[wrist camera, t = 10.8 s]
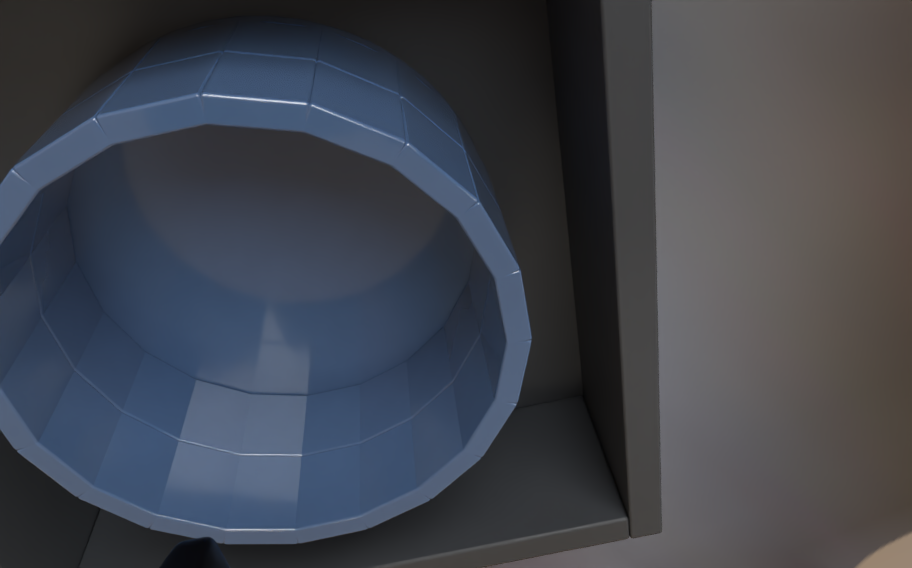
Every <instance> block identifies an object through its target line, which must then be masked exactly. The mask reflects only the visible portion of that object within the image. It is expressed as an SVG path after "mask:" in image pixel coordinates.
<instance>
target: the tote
mask: <svg viewBox="0 0 912 568" xmlns="http://www.w3.org/2000/svg"><path fill="white" fill-rule="evenodd" d="M235 16H278V17H286V18H295V19H303V20H307V21H311V22H315V23H319V24H323V25H327V26H331V27H335V28H338V29H340V30H343V31H346V32H348V33H351V34H353V35H356V36H358V37H361V38H363V39H366V40H368V41H370V42H371V43H373V44H375V45H377V46H379V47H381V48H382V49H384V50H386V51H388V52H390V53H391V54H393V55H395V56H396V57H398V58H399V59H400V60H402V61H403V62H404V63H406V64H407V65H409V66H410V67H411V68H413V69H414V70H415V71H417V72H418V73H419V74H420V75H421V76H422V77H424V78H425V79H426V80H427V81H428V82H429V83H430V84H431V85H432V86H433V87H434V88H435V89H436V90H437V91H438V92H439V93H440V94H441V95H442V96H443V97H444V99H445V100H446V101H447V102H448V104H449V105H450V106H451V108H452V109H453V110H454V111H455V113H456V114H457V115H458V116H459V118H460V120H461V121H462V123H463V125H464V126H465V128H466V130H467V131H468V133H469V135H470V137H471V138H472V140H473V142H474V145H475V147H476V149H477V152H478V154H479V156H480V158H481V159H482V161H483V163H484V164H485V166H486V169H487V171H488V174H489V177H490V180H491V183H492V186H493V189H494V192H495V195H496V198H497V201H498V204H499V207H500V210H501V213H502V216H503V219H504V222H505V225H506V228H507V230H508V233H509V236H510V239H511V242H512V245H513V248H514V251H515V254H516V257H517V260H518V263H519V266H520V269H521V272H522V278H523V284H524V290H525V297H526V303H527V309H528V315H529V321H530V327H531V333H532V339H531V340H532V343H531V347H530V352H529V356H528V361H527V365H526V369H525V374H524V378H523V383H522V387H521V392H520V396H519V400H518V402H517V405H516V407H515V409H514V410H513V412H512V413H511V415H510V416H509V418H508V419H507V421H506V422H505V424H504V426H503V427H502V429H501V430H500V432H499V433H498V435H497V436H496V438H495V439H494V441H493V442H492V444H491V446H490V447H489V449H488V450H487V452H486V453H485V455H484V456H483V457H481V459H480V460H479V461H478V462H477V463H476V464H475V465H473V466H472V467H471V468H470V469H469V470H467V471H466V472H465V473H464V474H462V475H461V476H460V477H459V478H458V479H456V480H455V481H454V482H453V483H452V484H450V485H449V486H448V487H447V488H445V489H444V490H443V491H442V492H441V493H439V494H438V495H437V496H436V497H435V498H433V499H430V501H429V502H426V503H424V504H422V505H420V506H418V507H416V508H413V509H411V510H409V511H407V512H405V513H403V514H400V515H398V516H396V517H394V518H392V519H390V520H387V521H385V522H383V523H381V524H379V525H377V526H374V527H372V528H368V529H367V530H363V531H358V532H353V533H349V534H344V535H339V536H335V537H330V538H325V539H320V540H316V541H311V542H306V543H301V544H299V543H297V544H224V543H223V544H219V543H217V544H218V546H219V548H220V550H221V552H222V554H223V555H224V557H225V559H226V561H227V563H228V565H229V566H230V568H482V567H487V566H492V565H497V564H502V563H507V562H512V561H517V560H522V559H527V558H533V557H538V556H543V555H548V554H553V553H558V552H563V551H568V550H573V549H578V548H583V547H588V546H594V545H599V544H604V543H609V542H614V541H619V540H624V539H627V538H629V535H630V537H631V538H637V537H642V536H647V535H652V534H657V533H661V532H662V513H661V462H660V412H659V362H658V311H657V261H656V211H655V160H654V110H653V60H652V9H651V0H0V183H1V182H2V180H3V179H4V177H5V176H6V174H7V173H8V171H9V170H10V169H11V168H12V167H13V166H14V165H15V164H16V163H17V161H18V160H19V159H20V158H21V157H22V156H23V155H24V154H25V153H26V152H27V151H28V150H29V149H30V148H31V147H32V146H33V145H34V144H35V142H36V141H37V140H38V139H39V138H40V137H41V136H42V135H43V134H44V133H45V132H46V131H47V130H48V129H49V128H50V127H51V126H52V124H53V123H54V122H55V121H56V120H58V118H59V117H60V116H61V115H62V114H63V113H64V112H65V111H66V110H67V109H68V108H69V106H70V105H71V104H72V103H73V102H74V101H75V100H76V99H77V98H78V97H79V96H80V95H81V94H82V93H83V92H84V91H85V90H86V88H87V87H88V86H89V85H90V84H91V83H92V82H93V81H94V80H95V79H96V78H97V77H98V76H100V75H101V74H103V73H105V72H106V71H108V70H109V69H111V68H112V67H113V66H114V65H115V64H116V63H118V62H119V61H120V60H121V59H123V58H124V57H126V56H127V55H129V54H130V53H132V52H133V51H135V50H136V49H138V48H139V47H141V46H142V45H144V44H145V43H147V42H149V41H152V40H154V39H156V38H158V37H160V36H162V35H165V34H167V33H169V32H171V31H173V30H176V29H180V28H183V27H186V26H190V25H193V24H196V23H200V22H203V21H208V20H215V19H221V18H228V17H235ZM191 539H195V538H190V537H185V536H180V535H175V534H170V533H165V532H160V531H155V530H151V529H150V528H144V527H142V526H140V525H137V524H135V523H133V522H131V521H128V520H126V519H124V518H121V517H119V516H117V515H115V514H112V513H110V512H108V511H105V510H103V509H101V508H99V507H96V506H94V505H92V504H89V503H87V502H85V501H82V500H80V499H79V498H78V497H75V496H74V495H72V494H71V493H70V492H68V491H67V490H66V489H64V488H63V487H62V486H60V485H59V484H58V483H57V482H55V481H54V480H53V479H51V478H50V477H49V476H47V475H46V474H45V473H43V472H42V471H41V470H40V469H38V468H37V467H36V466H34V465H33V464H32V463H30V462H29V461H28V460H26V459H25V458H24V457H23V456H21V455H20V454H19V453H18V452H17V450H15V449H14V448H13V447H12V446H11V444H10V443H9V442H8V440H7V439H6V437H5V436H4V435H3V433H2V432H1V431H0V568H159V567H160V565H161V564H162V563H163V561H164V560H165V559H166V557H167V556H168V555H169V553H170V552H171V550H172V549H173V548H174V547H175V546H176V545H177V544H178V543H180V542H182V541H186V540H191Z"/></svg>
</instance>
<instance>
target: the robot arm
mask: <svg viewBox="0 0 912 568" xmlns="http://www.w3.org/2000/svg"><path fill="white" fill-rule="evenodd" d="M159 568H230V566H229V565H228V563H227V561H226V559H225V557H224V555H223V554H222V552H221V550H220V548H219V546H218V544H217V543H216V541H215V540H214V539H213V538H211V537H201V538H196V539H191V540H186V541H182V542H180V543H178V544H177V545H176V546H175V547H174V548H173V549H172V550H171V552H170V553H169V555H168V556H167V557H166V559H165V560H164V561H163V563H162V564H161V565H160V567H159Z"/></svg>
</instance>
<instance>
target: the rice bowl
mask: <svg viewBox="0 0 912 568" xmlns="http://www.w3.org/2000/svg"><path fill="white" fill-rule="evenodd" d="M531 339H532V333H531V327H530V321H529V315H528V309H527V303H526V297H525V290H524V284H523V278H522V272H521V269H520V266H519V263H518V260H517V257H516V254H515V251H514V248H513V245H512V242H511V239H510V236H509V233H508V230H507V228H506V225H505V222H504V219H503V216H502V213H501V210H500V207H499V204H498V201H497V198H496V195H495V192H494V189H493V186H492V183H491V180H490V177H489V174H488V171H487V169H486V166H485V164H484V163H483V161H482V159H481V158H480V156H479V154H478V152H477V149H476V147H475V145H474V142H473V140H472V138H471V137H470V135H469V133H468V131H467V130H466V128H465V126H464V125H463V123H462V121H461V120H460V118H459V116H458V115H457V114H456V113H455V111H454V110H453V109H452V108H451V106H450V105H449V104H448V102H447V101H446V100H445V99H444V97H443V96H442V95H441V94H440V93H439V92H438V91H437V90H436V89H435V88H434V87H433V86H432V85H431V84H430V83H429V82H428V81H427V80H426V79H425V78H424V77H422V76H421V75H420V74H419V73H418V72H417V71H415V70H414V69H413V68H411V67H410V66H409V65H407V64H406V63H404V62H403V61H402V60H400V59H399V58H398V57H396V56H395V55H393V54H391V53H390V52H388V51H386V50H384V49H382V48H381V47H379V46H377V45H375V44H373V43H371V42H370V41H368V40H366V39H363V38H361V37H358V36H356V35H353V34H351V33H348V32H346V31H343V30H340V29H338V28H335V27H331V26H327V25H323V24H319V23H315V22H311V21H307V20H303V19H295V18H286V17H278V16H235V17H228V18H221V19H215V20H208V21H203V22H200V23H196V24H193V25H190V26H186V27H183V28H180V29H176V30H173V31H171V32H169V33H167V34H165V35H162V36H160V37H158V38H156V39H154V40H152V41H149V42H147V43H145V44H144V45H142V46H141V47H139V48H138V49H136V50H135V51H133V52H132V53H130V54H129V55H127V56H126V57H124V58H123V59H121V60H120V61H119V62H118V63H116V64H115V65H114V66H113V67H112V68H111V69H109V70H108V71H106V72H105V73H103V74H101V75H100V76H98V77H97V78H96V79H95V80H94V81H93V82H92V83H91V84H90V85H89V86H88V87H87V88H86V90H85V91H84V92H83V93H82V94H81V95H80V96H79V97H78V98H77V99H76V100H75V101H74V102H73V103H72V104H71V105H70V106H69V108H68V109H67V110H66V111H65V112H64V113H63V114H62V115H61V116H60V117H59V118H58V120H56V121H55V122H54V123H53V124H52V126H51V127H50V128H49V129H48V130H47V131H46V132H45V133H44V134H43V135H42V136H41V137H40V138H39V139H38V140H37V141H36V142H35V144H34V145H33V146H32V147H31V148H30V149H29V150H28V151H27V152H26V153H25V154H24V155H23V156H22V157H21V158H20V159H19V160H18V161H17V163H16V164H15V165H14V166H13V167H12V168H11V169H10V170H9V171H8V173H7V174H6V176H5V177H4V179H3V180H2V182H1V183H0V431H1V432H2V433H3V435H4V436H5V437H6V439H7V440H8V442H9V443H10V444H11V446H12V447H13V448H14V449H15V450H17V452H18V453H19V454H20V455H21V456H23V457H24V458H25V459H26V460H28V461H29V462H30V463H32V464H33V465H34V466H36V467H37V468H38V469H40V470H41V471H42V472H43V473H45V474H46V475H47V476H49V477H50V478H51V479H53V480H54V481H55V482H57V483H58V484H59V485H60V486H62V487H63V488H64V489H66V490H67V491H68V492H70V493H71V494H72V495H74V496H75V497H78V498H79V499H80V500H82V501H85V502H87V503H89V504H92V505H94V506H96V507H99V508H101V509H103V510H105V511H108V512H110V513H112V514H115V515H117V516H119V517H121V518H124V519H126V520H128V521H131V522H133V523H135V524H137V525H140V526H142V527H144V528H150V529H151V530H155V531H160V532H165V533H170V534H175V535H180V536H185V537H190V538H195V539H196V538H201V537H211V538H213V539H214V540H215V541H216V543H219V544H223V543H224V544H297V543H299V544H301V543H306V542H311V541H316V540H320V539H325V538H330V537H335V536H339V535H344V534H349V533H353V532H358V531H363V530H367V529H368V528H372V527H374V526H377V525H379V524H381V523H383V522H385V521H387V520H390V519H392V518H394V517H396V516H398V515H400V514H403V513H405V512H407V511H409V510H411V509H413V508H416V507H418V506H420V505H422V504H424V503H426V502H429V501H430V499H433V498H435V497H436V496H437V495H438V494H439V493H441V492H442V491H443V490H444V489H445V488H447V487H448V486H449V485H450V484H452V483H453V482H454V481H455V480H456V479H458V478H459V477H460V476H461V475H462V474H464V473H465V472H466V471H467V470H469V469H470V468H471V467H472V466H473V465H475V464H476V463H477V462H478V461H479V460H480V459H481V457H483V456H484V455H485V453H486V452H487V450H488V449H489V447H490V446H491V444H492V442H493V441H494V439H495V438H496V436H497V435H498V433H499V432H500V430H501V429H502V427H503V426H504V424H505V422H506V421H507V419H508V418H509V416H510V415H511V413H512V412H513V410H514V409H515V407H516V405H517V402H518V400H519V396H520V392H521V387H522V383H523V378H524V374H525V369H526V365H527V361H528V356H529V352H530V347H531V343H532V340H531Z"/></svg>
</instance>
